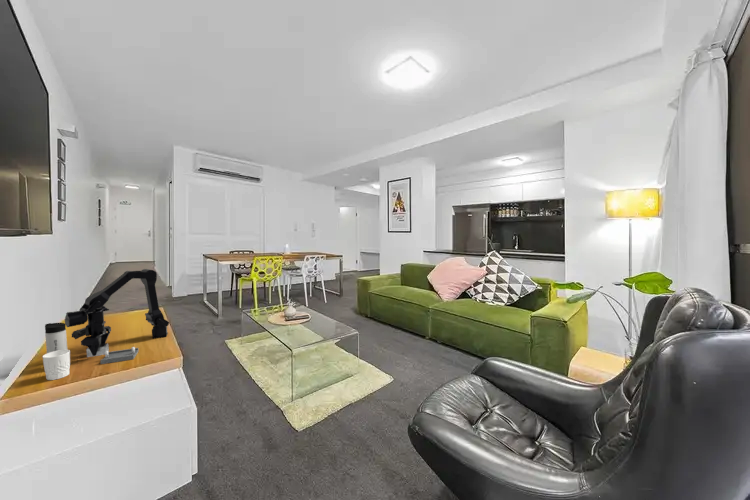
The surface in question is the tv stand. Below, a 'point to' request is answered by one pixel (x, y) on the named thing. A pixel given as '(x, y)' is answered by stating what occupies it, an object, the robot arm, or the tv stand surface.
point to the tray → (119, 355)
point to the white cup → (57, 364)
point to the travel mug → (55, 337)
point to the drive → (99, 350)
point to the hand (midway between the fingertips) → (98, 351)
